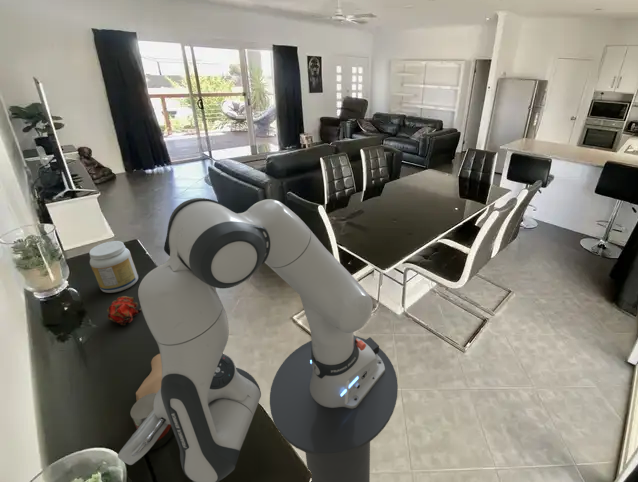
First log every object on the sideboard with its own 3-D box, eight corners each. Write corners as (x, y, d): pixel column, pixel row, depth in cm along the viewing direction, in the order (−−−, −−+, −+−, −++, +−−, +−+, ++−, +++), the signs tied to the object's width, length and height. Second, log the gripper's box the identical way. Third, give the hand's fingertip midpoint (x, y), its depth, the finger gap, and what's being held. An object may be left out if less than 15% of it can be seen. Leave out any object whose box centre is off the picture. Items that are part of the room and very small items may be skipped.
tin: (170, 417, 80) (159, 387, 76) (176, 436, 76) (165, 406, 72) (141, 434, 77) (128, 404, 72) (146, 456, 73) (132, 425, 68)
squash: (143, 434, 77) (124, 410, 73) (145, 379, 93) (130, 357, 90) (191, 404, 82) (176, 380, 78) (185, 357, 98) (172, 335, 94)
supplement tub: (105, 279, 130) (91, 243, 123) (141, 272, 135) (129, 237, 128) (96, 298, 120) (80, 260, 113) (135, 289, 125) (122, 252, 118)
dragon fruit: (126, 311, 116) (135, 333, 109) (98, 310, 109) (105, 334, 102) (138, 291, 116) (147, 311, 109) (111, 289, 109) (118, 311, 102)
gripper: (153, 460, 60) (123, 479, 66) (219, 366, 79) (191, 387, 84) (125, 441, 59) (97, 462, 64) (198, 351, 78) (172, 372, 83)
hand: (151, 419), depth 74 cm, fingers open, 8 cm apart
